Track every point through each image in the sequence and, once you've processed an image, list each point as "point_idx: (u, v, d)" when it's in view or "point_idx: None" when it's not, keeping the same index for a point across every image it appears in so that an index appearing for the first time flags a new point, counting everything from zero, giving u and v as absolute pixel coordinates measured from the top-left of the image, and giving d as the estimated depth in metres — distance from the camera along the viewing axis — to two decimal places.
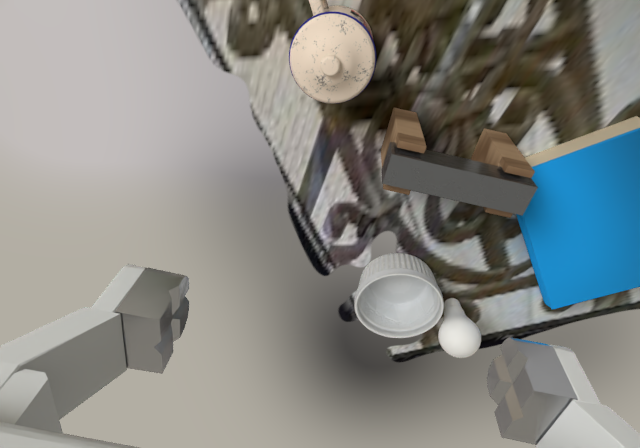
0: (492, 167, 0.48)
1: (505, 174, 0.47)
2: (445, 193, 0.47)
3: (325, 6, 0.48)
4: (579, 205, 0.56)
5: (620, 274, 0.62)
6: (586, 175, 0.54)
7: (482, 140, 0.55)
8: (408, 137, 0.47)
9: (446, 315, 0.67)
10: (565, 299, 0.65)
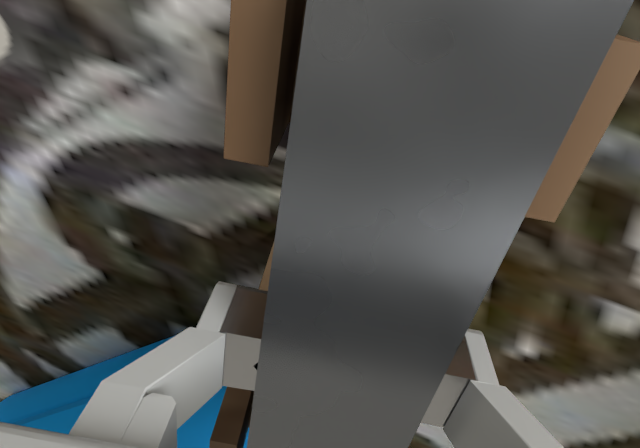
0: None
1: None
2: (286, 359, 0.08)
3: None
4: None
5: None
6: None
7: None
8: None
9: None
10: None
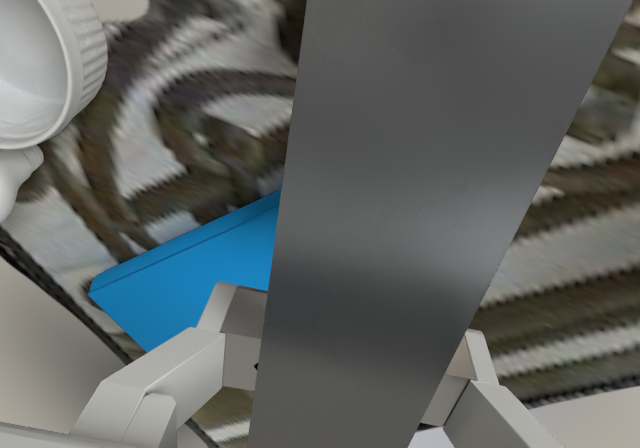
0: None
1: None
2: (286, 359, 0.09)
3: None
4: None
5: None
6: None
7: None
8: None
9: (0, 153, 0.33)
10: (113, 306, 0.42)
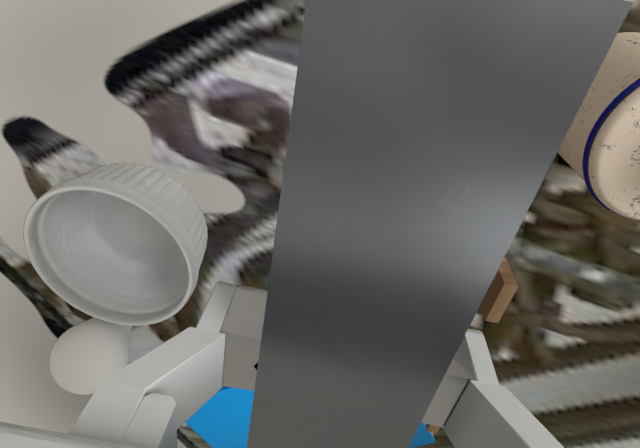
0: None
1: None
2: (285, 360, 0.09)
3: None
4: None
5: None
6: None
7: None
8: None
9: None
10: None
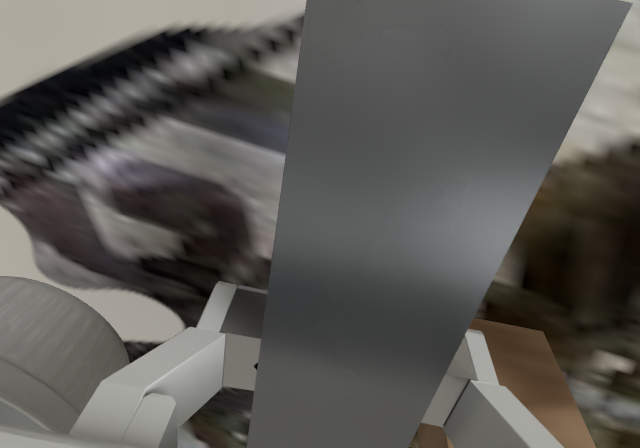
0: None
1: None
2: (285, 361, 0.09)
3: None
4: None
5: None
6: None
7: None
8: None
9: None
10: None
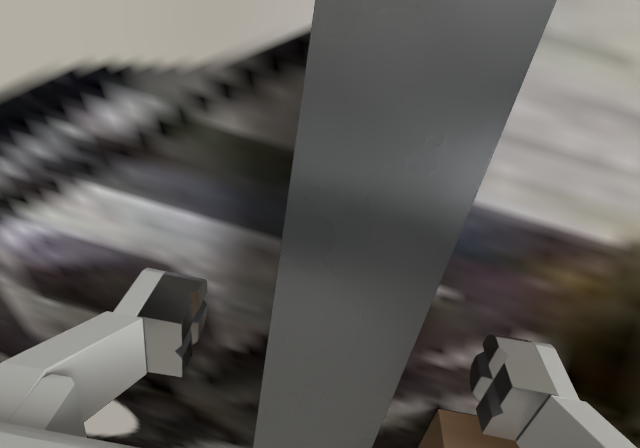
0: None
1: None
2: (297, 295, 0.10)
3: None
4: None
5: None
6: None
7: None
8: None
9: None
10: None
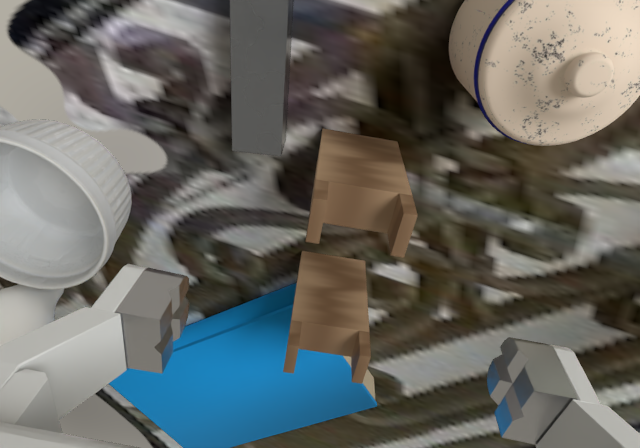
0: (288, 86, 0.32)
1: (285, 107, 0.31)
2: (238, 16, 0.27)
3: None
4: (270, 373, 0.44)
5: (184, 422, 0.50)
6: (311, 371, 0.44)
7: (352, 266, 0.39)
8: None
9: None
10: (125, 387, 0.47)
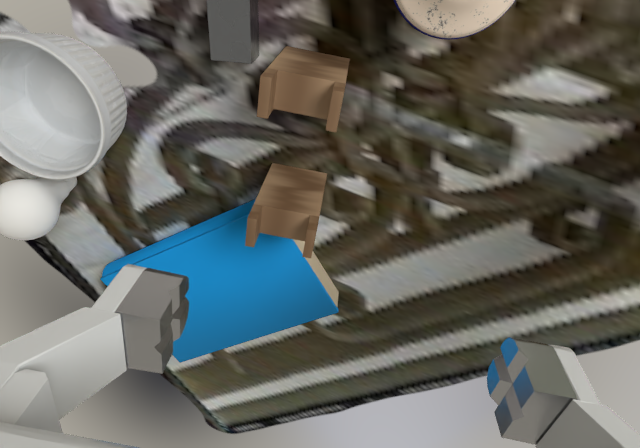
0: (256, 5, 0.38)
1: (254, 21, 0.38)
2: None
3: None
4: (244, 276, 0.51)
5: None
6: (279, 274, 0.50)
7: (315, 175, 0.46)
8: None
9: (48, 180, 0.45)
10: None
